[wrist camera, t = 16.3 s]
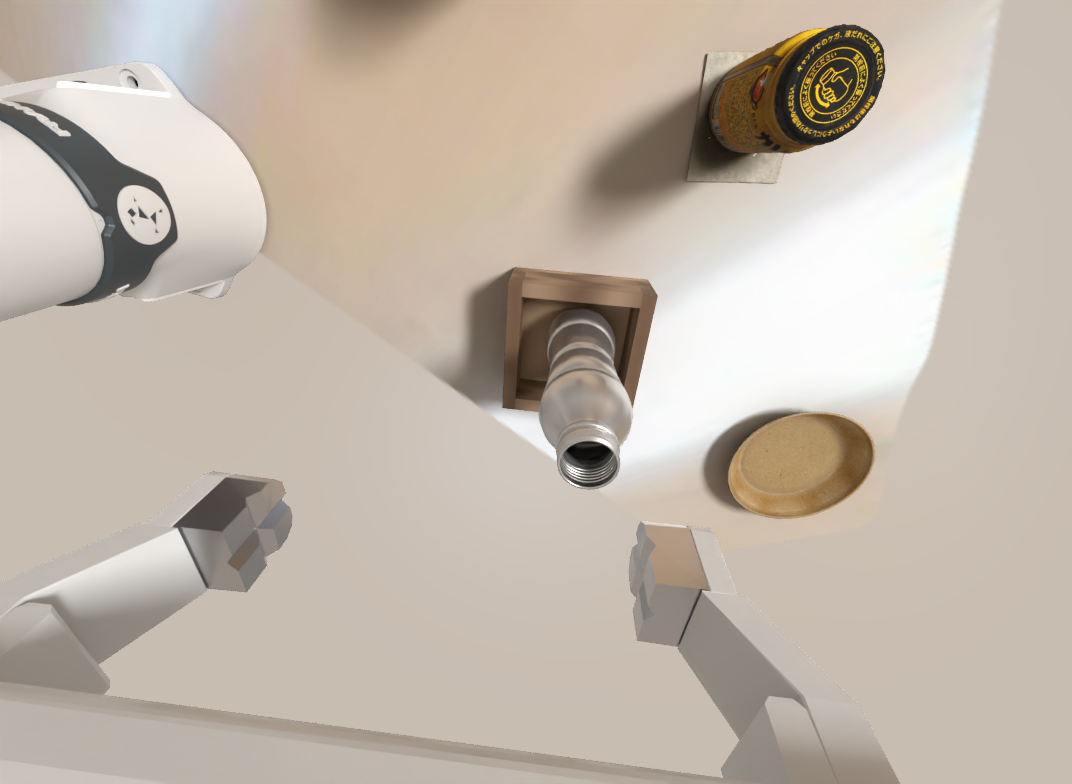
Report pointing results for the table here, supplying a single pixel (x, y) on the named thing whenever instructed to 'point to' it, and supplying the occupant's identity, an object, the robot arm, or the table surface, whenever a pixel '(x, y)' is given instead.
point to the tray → (550, 294)
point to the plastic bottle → (584, 399)
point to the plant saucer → (801, 465)
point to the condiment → (782, 101)
